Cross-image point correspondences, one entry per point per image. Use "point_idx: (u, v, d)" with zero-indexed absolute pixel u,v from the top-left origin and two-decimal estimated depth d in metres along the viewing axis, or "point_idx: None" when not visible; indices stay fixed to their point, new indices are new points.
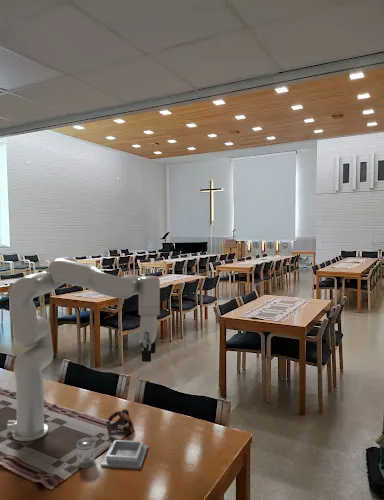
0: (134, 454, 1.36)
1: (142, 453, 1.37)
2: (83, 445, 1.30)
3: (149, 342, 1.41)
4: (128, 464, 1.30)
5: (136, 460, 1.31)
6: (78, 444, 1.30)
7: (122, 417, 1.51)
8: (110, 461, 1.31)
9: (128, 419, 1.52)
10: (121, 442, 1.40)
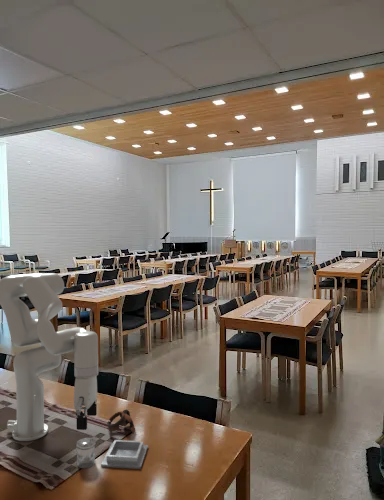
0: (134, 454, 1.36)
1: (142, 453, 1.37)
2: (83, 445, 1.30)
3: (85, 408, 1.26)
4: (128, 464, 1.30)
5: (136, 460, 1.31)
6: (78, 444, 1.30)
7: (123, 417, 1.51)
8: (110, 461, 1.31)
9: (129, 419, 1.52)
10: (121, 442, 1.40)
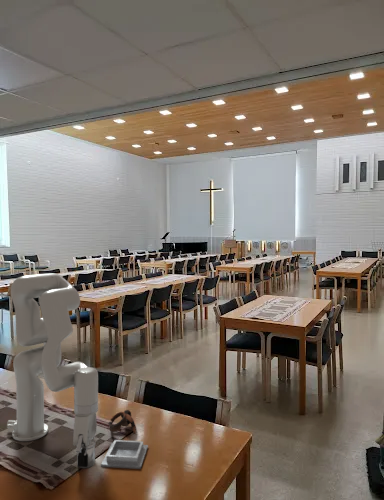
0: (134, 454, 1.36)
1: (142, 453, 1.37)
2: None
3: (85, 446, 1.28)
4: (128, 464, 1.30)
5: (136, 460, 1.31)
6: None
7: (125, 418, 1.50)
8: (110, 461, 1.31)
9: (131, 420, 1.51)
10: (121, 442, 1.40)
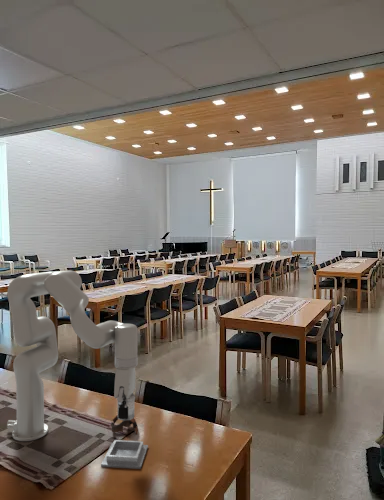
0: (134, 454, 1.36)
1: (142, 453, 1.37)
2: None
3: (125, 398, 1.31)
4: (128, 464, 1.30)
5: (136, 460, 1.31)
6: None
7: None
8: (110, 461, 1.31)
9: (133, 420, 1.51)
10: (121, 442, 1.40)
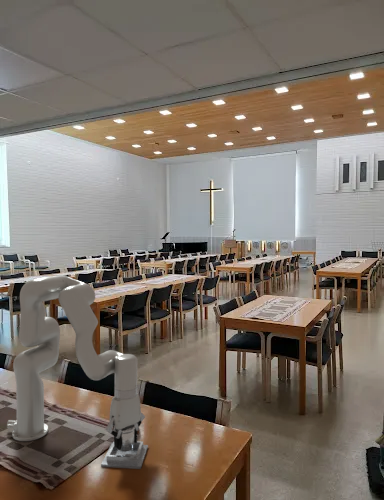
0: (134, 454, 1.36)
1: (142, 453, 1.37)
2: None
3: None
4: (128, 464, 1.30)
5: (136, 460, 1.31)
6: None
7: None
8: (110, 461, 1.31)
9: None
10: None
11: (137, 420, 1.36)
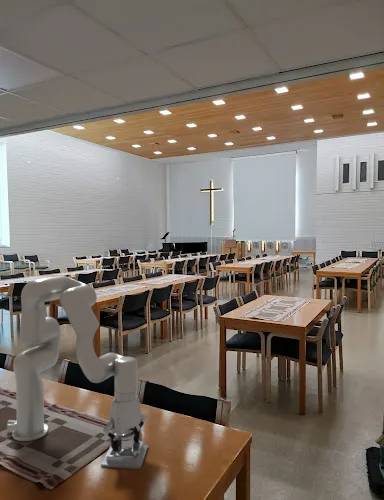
0: (134, 454, 1.36)
1: (142, 453, 1.37)
2: (120, 435, 1.35)
3: None
4: (128, 464, 1.30)
5: (136, 460, 1.31)
6: None
7: None
8: (110, 461, 1.31)
9: None
10: None
11: (137, 423, 1.36)
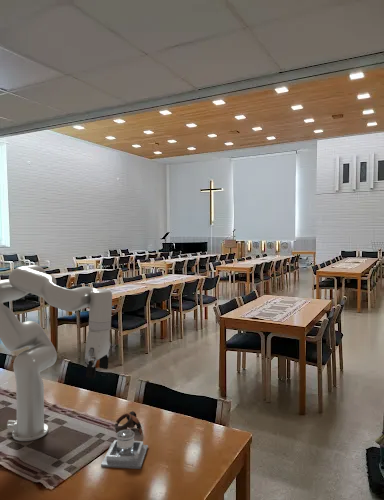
0: (134, 454, 1.36)
1: (142, 453, 1.37)
2: (120, 435, 1.35)
3: (94, 358, 1.36)
4: (128, 464, 1.30)
5: (136, 460, 1.31)
6: (118, 433, 1.36)
7: (131, 419, 1.49)
8: (110, 461, 1.31)
9: (137, 421, 1.50)
10: None
11: (107, 351, 1.44)
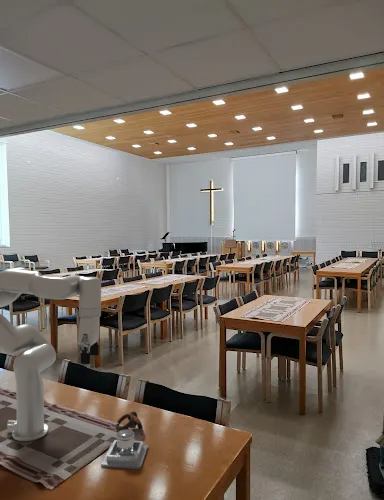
0: (134, 454, 1.36)
1: (142, 453, 1.37)
2: (120, 435, 1.35)
3: (88, 344, 1.39)
4: (128, 464, 1.30)
5: (136, 460, 1.31)
6: (118, 433, 1.36)
7: (132, 419, 1.49)
8: (110, 461, 1.31)
9: (138, 421, 1.50)
10: None
11: (98, 337, 1.46)
